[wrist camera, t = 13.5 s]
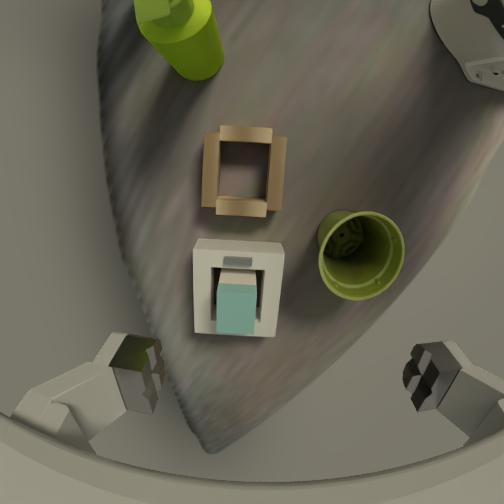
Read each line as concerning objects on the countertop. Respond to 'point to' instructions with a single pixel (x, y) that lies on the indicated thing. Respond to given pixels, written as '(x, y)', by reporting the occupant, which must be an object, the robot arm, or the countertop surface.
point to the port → (239, 257)
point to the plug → (236, 301)
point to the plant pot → (359, 253)
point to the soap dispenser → (183, 35)
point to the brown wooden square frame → (212, 172)
